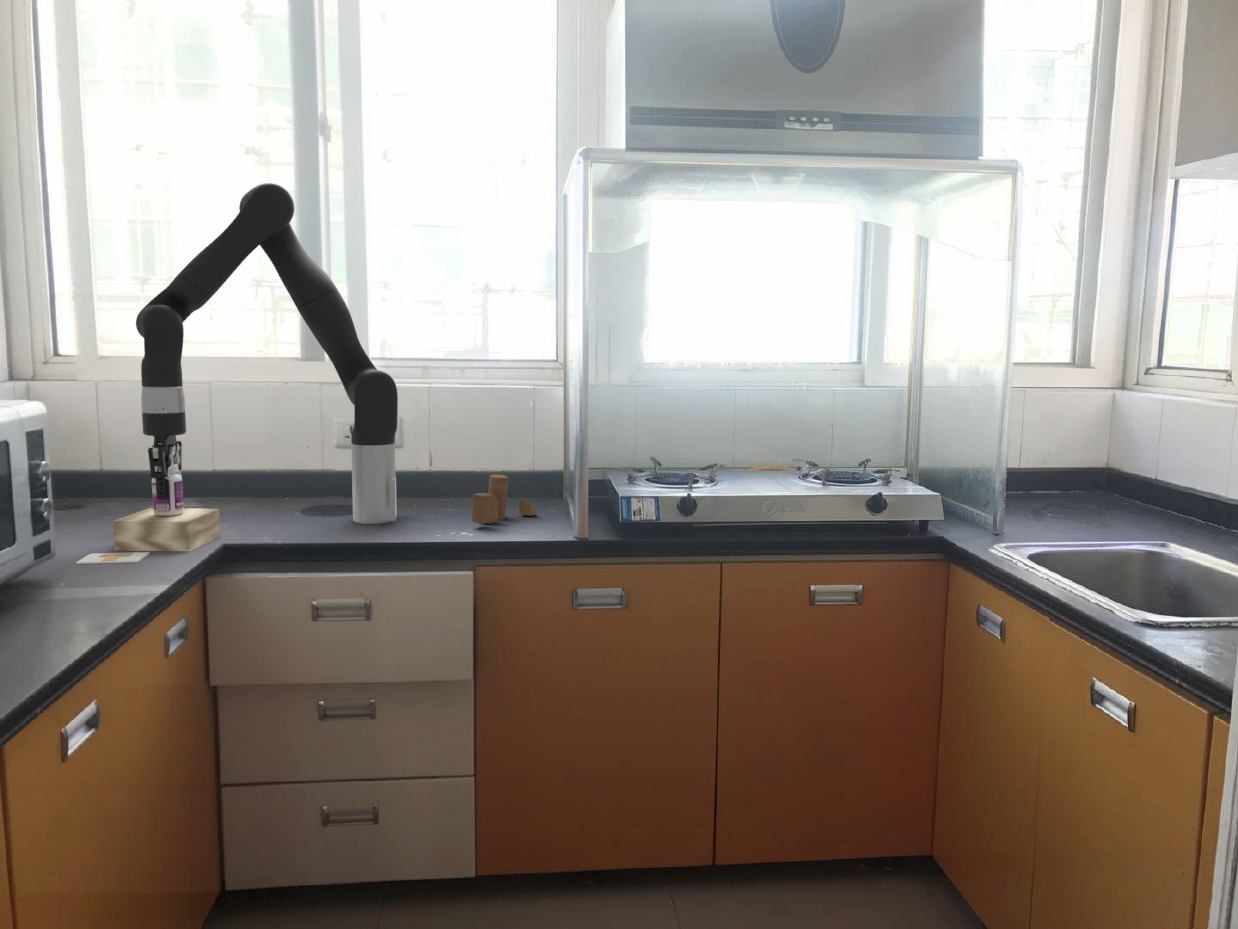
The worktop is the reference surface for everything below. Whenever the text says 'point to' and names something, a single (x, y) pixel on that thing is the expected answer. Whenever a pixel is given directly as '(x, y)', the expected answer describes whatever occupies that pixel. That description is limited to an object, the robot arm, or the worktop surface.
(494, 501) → the wooden block set
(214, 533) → the birch block
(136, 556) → the card
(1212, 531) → the worktop surface
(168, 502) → the pill bottle
